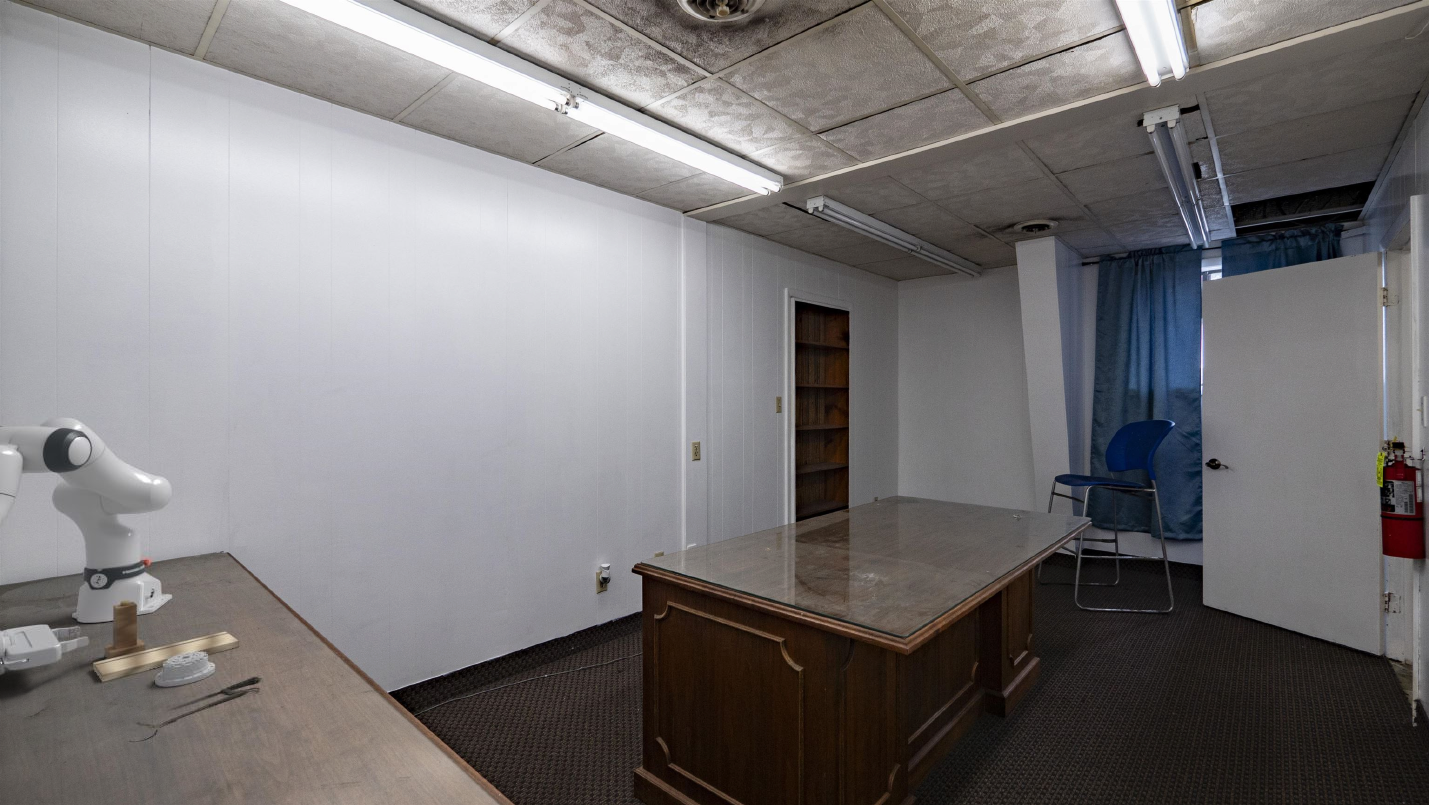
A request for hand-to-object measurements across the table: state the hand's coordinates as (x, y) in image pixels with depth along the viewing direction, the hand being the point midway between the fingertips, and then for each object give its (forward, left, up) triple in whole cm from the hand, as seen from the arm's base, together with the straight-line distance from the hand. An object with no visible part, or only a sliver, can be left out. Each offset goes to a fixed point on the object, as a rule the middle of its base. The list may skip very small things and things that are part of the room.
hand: (84, 635), depth 141 cm
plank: (-1, +16, -7) cm, 17 cm away
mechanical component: (+11, +26, -7) cm, 29 cm away
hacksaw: (+28, +37, -8) cm, 47 cm away
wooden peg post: (-4, +5, -7) cm, 10 cm away
